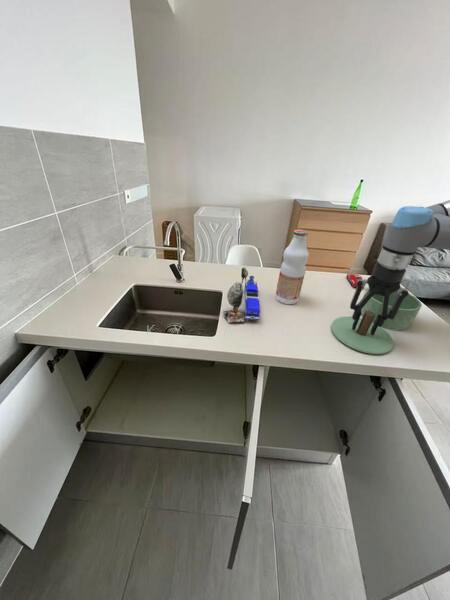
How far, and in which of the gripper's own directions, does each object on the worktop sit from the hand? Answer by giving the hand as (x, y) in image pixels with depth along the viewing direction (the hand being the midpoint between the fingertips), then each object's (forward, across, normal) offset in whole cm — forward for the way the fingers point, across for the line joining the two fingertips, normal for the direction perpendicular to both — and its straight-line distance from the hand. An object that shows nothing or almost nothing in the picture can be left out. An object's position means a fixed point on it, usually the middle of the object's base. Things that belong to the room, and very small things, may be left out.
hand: (362, 329), depth 80 cm
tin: (+2, +8, +18) cm, 20 cm away
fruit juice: (+3, -28, +11) cm, 30 cm away
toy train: (0, -40, +1) cm, 40 cm away
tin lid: (+2, 0, 0) cm, 2 cm away
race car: (+3, -3, +43) cm, 43 cm away
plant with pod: (+3, -42, -11) cm, 43 cm away
